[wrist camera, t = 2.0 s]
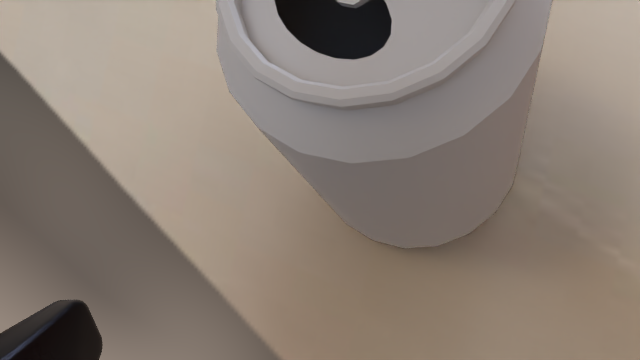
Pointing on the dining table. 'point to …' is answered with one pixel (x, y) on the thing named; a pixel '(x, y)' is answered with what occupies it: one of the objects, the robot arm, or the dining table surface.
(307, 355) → the dining table surface
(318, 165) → the can
